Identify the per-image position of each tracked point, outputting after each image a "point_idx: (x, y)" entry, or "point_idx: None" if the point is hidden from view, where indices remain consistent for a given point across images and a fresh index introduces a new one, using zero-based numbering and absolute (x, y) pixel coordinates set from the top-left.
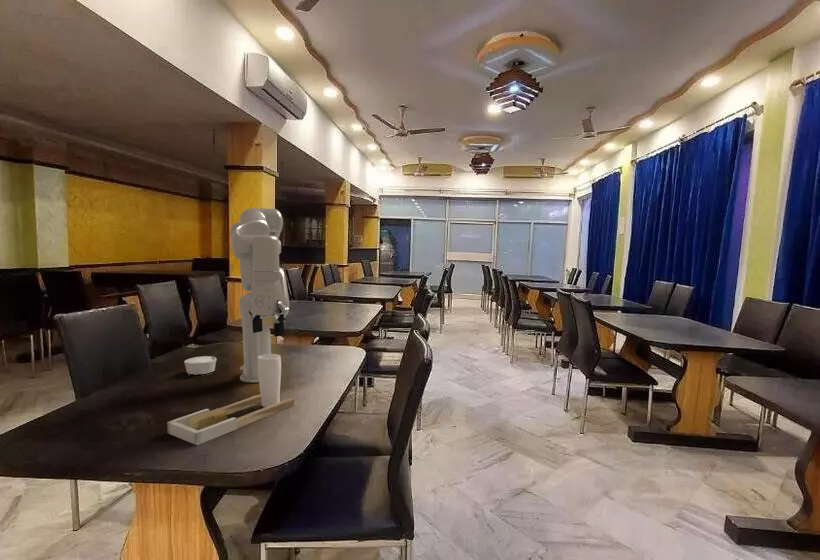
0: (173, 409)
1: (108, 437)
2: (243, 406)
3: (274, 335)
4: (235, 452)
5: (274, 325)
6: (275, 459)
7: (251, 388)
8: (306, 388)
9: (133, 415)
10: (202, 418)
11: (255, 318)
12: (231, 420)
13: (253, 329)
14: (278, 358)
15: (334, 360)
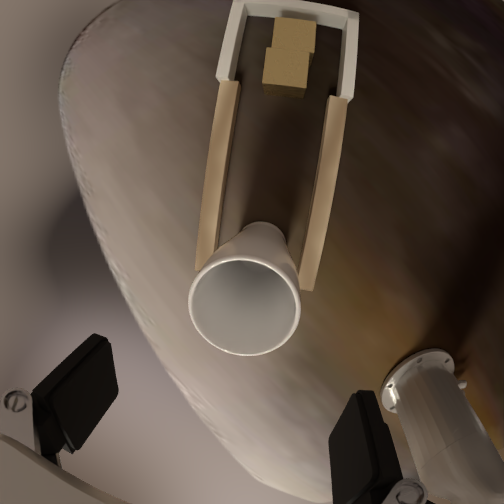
0: (464, 138)
1: (428, 3)
2: (313, 193)
3: (100, 337)
4: (146, 29)
5: (51, 382)
6: (78, 57)
7: (396, 325)
8: (258, 371)
9: (492, 95)
10: (279, 27)
11: (371, 500)
12: (218, 64)
13: (368, 407)
14: (189, 309)
15: (312, 483)
